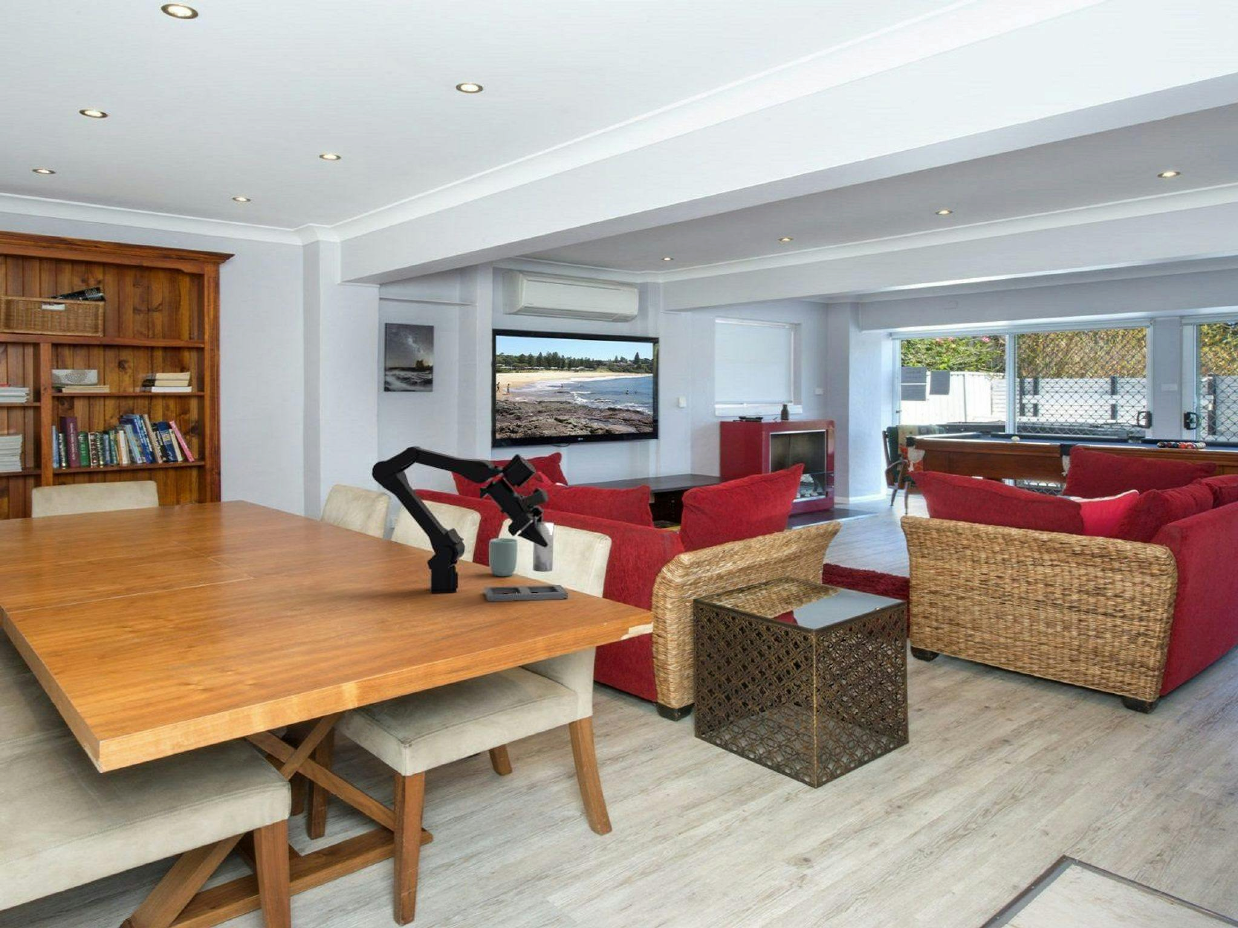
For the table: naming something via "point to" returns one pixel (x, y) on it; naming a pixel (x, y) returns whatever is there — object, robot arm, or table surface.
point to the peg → (542, 554)
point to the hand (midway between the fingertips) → (548, 544)
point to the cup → (503, 556)
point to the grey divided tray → (525, 593)
